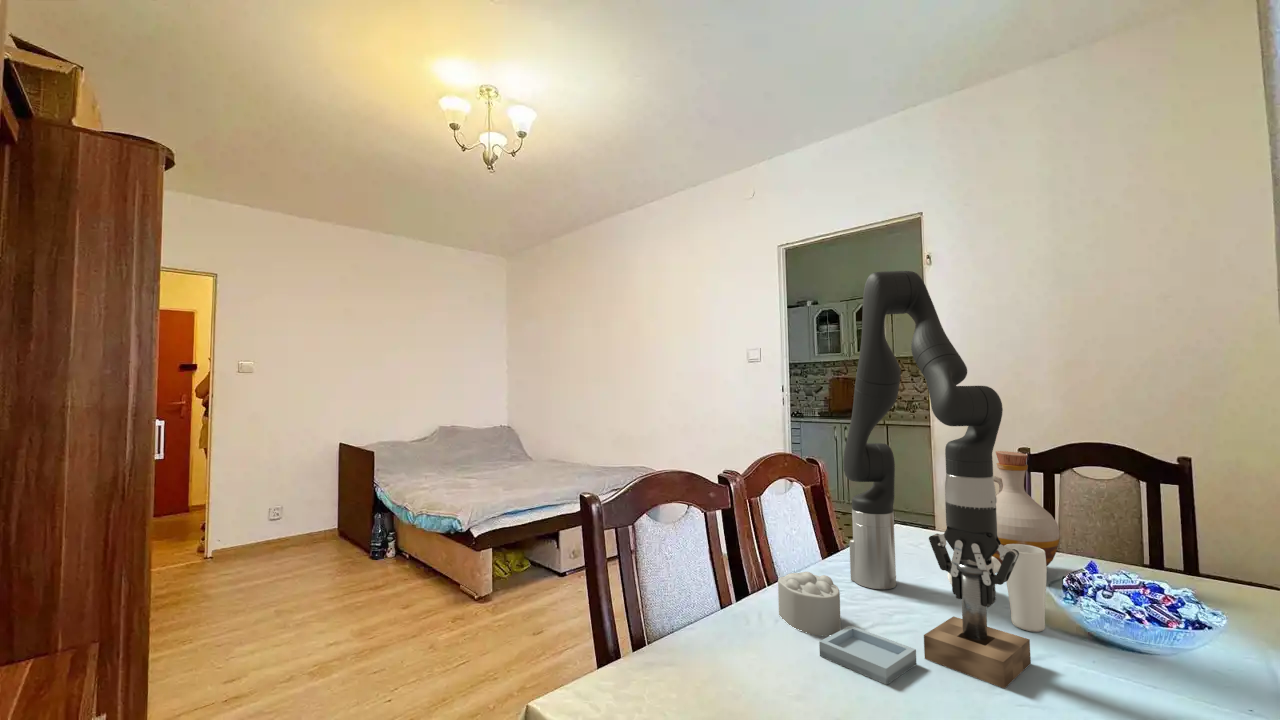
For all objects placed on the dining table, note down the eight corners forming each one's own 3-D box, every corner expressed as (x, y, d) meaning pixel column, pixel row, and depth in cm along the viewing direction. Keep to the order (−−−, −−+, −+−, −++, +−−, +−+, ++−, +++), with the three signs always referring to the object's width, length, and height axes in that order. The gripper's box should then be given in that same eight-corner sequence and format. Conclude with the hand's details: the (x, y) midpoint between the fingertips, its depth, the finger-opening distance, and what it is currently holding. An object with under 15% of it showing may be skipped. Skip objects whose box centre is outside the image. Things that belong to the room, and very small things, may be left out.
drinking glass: (1057, 636, 100) (1053, 554, 101) (1017, 633, 102) (1013, 552, 103) (1038, 620, 107) (1034, 544, 108) (1000, 618, 108) (997, 542, 109)
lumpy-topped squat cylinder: (815, 606, 115) (814, 565, 116) (855, 632, 103) (853, 586, 103) (772, 612, 113) (771, 570, 113) (807, 640, 100) (805, 592, 101)
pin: (954, 634, 93) (951, 563, 93) (965, 626, 96) (962, 557, 96) (985, 644, 89) (982, 571, 89) (996, 636, 92) (993, 564, 92)
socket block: (924, 658, 93) (923, 634, 93) (954, 638, 100) (953, 616, 100) (1004, 688, 83) (1003, 662, 83) (1030, 663, 91) (1029, 639, 91)
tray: (819, 655, 94) (819, 641, 94) (850, 639, 100) (850, 625, 100) (886, 685, 85) (886, 668, 85) (916, 664, 91) (915, 649, 91)
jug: (965, 574, 134) (959, 453, 135) (970, 555, 148) (965, 446, 150) (1065, 590, 123) (1057, 458, 124) (1059, 568, 137) (1053, 450, 139)
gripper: (918, 497, 96) (921, 594, 96) (1009, 511, 85) (1014, 622, 84) (936, 491, 101) (940, 584, 100) (1025, 504, 90) (1030, 609, 89)
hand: (973, 601), depth 92 cm, fingers closed on pin, 3 cm apart
